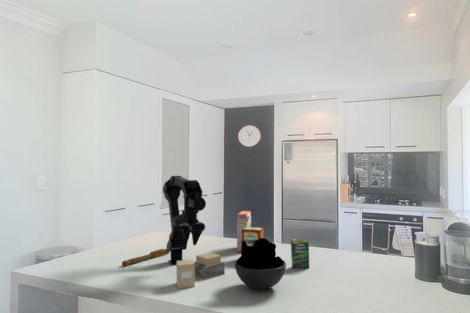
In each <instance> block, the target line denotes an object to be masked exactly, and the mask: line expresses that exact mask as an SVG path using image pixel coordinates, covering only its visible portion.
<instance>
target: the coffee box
mask: <svg viewBox="0 0 470 313" xmlns="http://www.w3.org/2000/svg"><path fill="white" fill-rule="evenodd" d="M290 252H291V253H290V254H291V255H290V256H291V258H290V259H291V268H292V269H310V244H309V239H308V238H296V239H294V238H293V239H291V240H290Z"/></svg>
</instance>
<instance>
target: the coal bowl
mask: <svg viewBox="0 0 470 313" xmlns="http://www.w3.org/2000/svg"><path fill="white" fill-rule="evenodd" d="M276 249H277V244H276V243H274V242H271V241H270V240H268V239H266V238H265V237H264V238H260V239H258V240H257V241H254V244H253V246H248V245H246V242H245V241H244V240H243V241H242V247H241V252H240V254H241V255H240V256H239V257H238V258H237V259H236V260H235V261H234V269H235V272H236V274H237V277H238V278H239V280H240V281H241V282H242V283H243V284H244V285H246V286H247V287H249V288H251V289H254V290H259V291H260V290H262V291H263V290H267V289H270V288H273V287H275V286H276V285H277V284H278V283H279V282H280V281H281V280H282V279H283V276H284V275H285V272H286V268H287V262H286V261H285V260H283V259H282V257H280V256H276V255H277V253H276Z"/></svg>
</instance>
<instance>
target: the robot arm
mask: <svg viewBox="0 0 470 313" xmlns="http://www.w3.org/2000/svg"><path fill="white" fill-rule="evenodd" d="M181 192H182V193H183V210H182V211H181V214H180V208H179V201H178V200H179V197H180V195H181ZM162 193H163V196H164V198H165V200H167V203H168V211H169V217H170V219H169V220H170V227H171V231H170V234H169V236H168V241H167V244H166V249H167V250H168V251H170V252H169V253H170V259H169V260H167V262H168V263H170V265H177V261H181V260H183V250H184V251H185V250H187V247H188V241H189V239H190V235H191V240H192V244H193V246H196V245H197V244H198V242H199V239H200V237H201V235H202V233H203V232H204V231H205V230H206V224H205V223H204V222H202V221H200V220H199V219H198V214H199V213H200V212H201V211H203V210H204V209H205V208H206V205H207V202H206V199H204V197H202V196H203V190H202V187H201V185H200V182H199V181H198V180H197V179H190V180H189V179H187V178H184V177H183V176H181V175H171V176H170V178H169V179H168V180H166V181H165V182H164V184H163V186H162Z"/></svg>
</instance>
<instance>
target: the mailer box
mask: <svg viewBox="0 0 470 313" xmlns="http://www.w3.org/2000/svg"><path fill="white" fill-rule="evenodd" d="M194 262H195V261H194V260H193V259H185V260H183V259H182V260H181V261H177V264H176V286H177V288H178V289H185V288H186V289H189V288H194V287H195V280H196V279H195V276H196V275H195V264H194Z"/></svg>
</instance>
